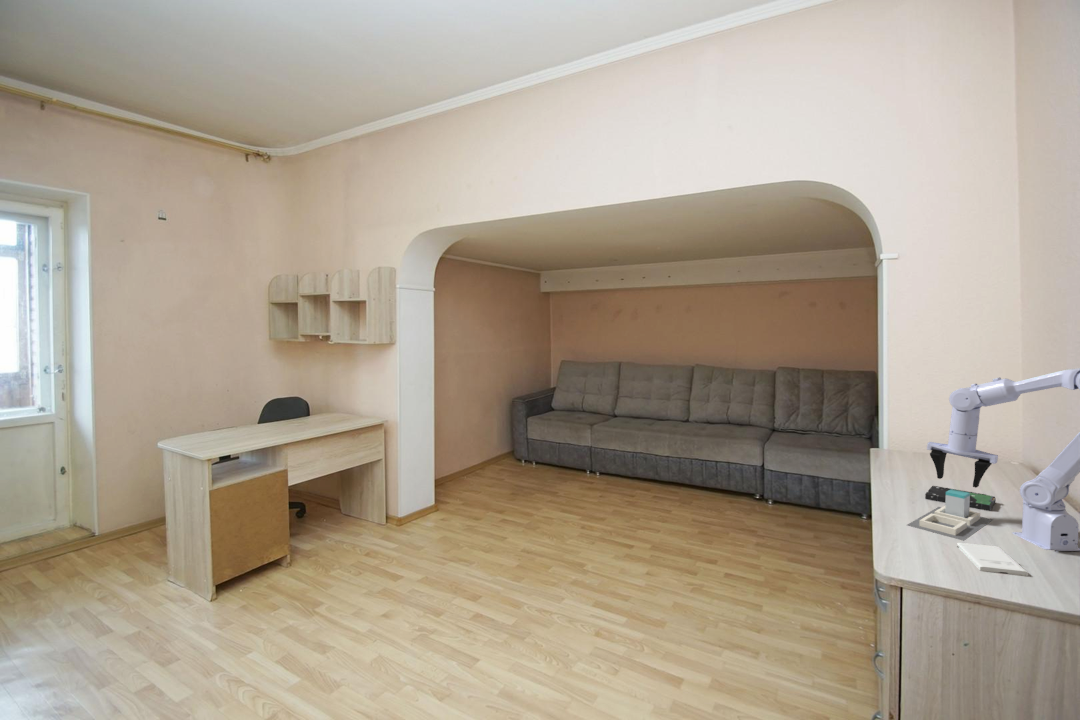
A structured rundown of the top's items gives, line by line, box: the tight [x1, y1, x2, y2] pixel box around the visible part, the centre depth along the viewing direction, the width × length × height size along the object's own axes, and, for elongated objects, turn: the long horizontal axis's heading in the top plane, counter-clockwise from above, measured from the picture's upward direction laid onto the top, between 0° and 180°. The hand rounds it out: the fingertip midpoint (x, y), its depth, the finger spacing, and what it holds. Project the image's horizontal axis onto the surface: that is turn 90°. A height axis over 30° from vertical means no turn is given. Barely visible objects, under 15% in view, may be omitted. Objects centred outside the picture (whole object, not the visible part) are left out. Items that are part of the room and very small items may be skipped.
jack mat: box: [906, 506, 994, 541], centre depth 134 cm, size 21×12×1 cm, turn 124°
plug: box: [944, 488, 970, 518], centre depth 137 cm, size 4×4×7 cm
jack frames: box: [919, 505, 981, 535], centre depth 134 cm, size 17×8×2 cm, turn 124°
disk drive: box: [924, 485, 996, 512], centre depth 149 cm, size 10×3×15 cm
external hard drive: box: [956, 542, 1029, 577], centre depth 114 cm, size 2×8×12 cm
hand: (957, 482), depth 137 cm, fingers open, 7 cm apart
